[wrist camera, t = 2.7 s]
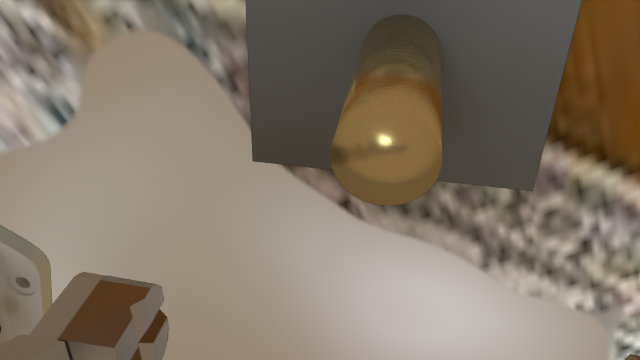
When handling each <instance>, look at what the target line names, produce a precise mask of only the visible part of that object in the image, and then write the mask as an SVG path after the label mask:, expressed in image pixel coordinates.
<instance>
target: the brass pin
mask: <svg viewBox="0 0 640 360" xmlns="http://www.w3.org/2000/svg"><path fill="white" fill-rule="evenodd" d="M330 160H331V166H332V169H333V172H334V174H335V176H336V178H337V180H338V181H339V182H340V184H341V185H342V186H343V187H344V188H345V189H346V190H347V191H348V192H349V193H351V194H352V195H354V196H355V197H357V198H359V199H361V200H363V201H365V202H368V203H372V204H376V205H384V206H393V205H400V204H405V203H408V202H411V201H413V200H415V199H417V198H419V197H421V196H422V195H423V194H425V193H426V192H427V191H428V190H429V189H430V188H431V187H432V186H433V184H434V183H435V181H436V180H437V178H438V176H439V173H440V170H441V166H442V107H441V46H440V42H439V39H438V37H437V35H436V33H435V31H434V30H433V29H432V28H431V27H430V26H429V25H428V24H427V23H426V22H425V21H423V20H421V19H419V18H417V17H414V16H411V15H393V16H389V17H386V18H384V19H382V20H380V21H378V22H377V23H376V24H375V25H374V26H372V27H371V29H370V30H369V31H368V33H367V34H366V36H365V38H364V41H363V44H362V47H361V50H360V54H359V57H358V60H357V63H356V67H355V70H354V73H353V77H352V80H351V83H350V86H349V90H348V93H347V96H346V100H345V103H344V106H343V109H342V113H341V116H340V119H339V123H338V126H337V129H336V132H335V136H334V139H333V142H332V146H331V152H330Z"/></svg>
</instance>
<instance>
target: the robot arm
mask: <svg viewBox="0 0 640 360" xmlns="http://www.w3.org/2000/svg"><path fill="white" fill-rule="evenodd" d="M163 301H164V296H163V292H162V287H161V286H159V285H157V284H152V283H146V282H141V281H135V280H129V279H124V278H118V277H112V276H104V275H98V274H92V273H87V272H82V273H80V274H78V275H76V276H75V277H74V278H73V279H72V280H71V282H70V283H69V284H68V285H67V287H66V288H65V289H64V290H63V292H62V293H61V294H60V296H59V297H58V298H57V299H56V301H55V302H54V303H53V304H52V289H51V270H50V263H49V260H48V258H47V256H46V255H45V254H44V253H43V252H42V251H41V250H40V249H39V248H37V247H36V246H35V245H33V244H32V243H30V242H29V241H27V240H25V239H24V238H22V237H20V236H19V235H17V234H15V233H14V232H12V231H10V230H8V229H7V228H5V227H3V226H1V225H0V360H161V359H162V357H163V355H164V352H165V348H166V345H167V341H168V330H169V326H168V319H167V316H165V314H164V313H163V312H162V311H161V310H160V309H159V308H160V307H161V305H162V303H163ZM625 360H640V356H639V355H631V354H630V355H629V356H628V357H627V358H626V359H625Z"/></svg>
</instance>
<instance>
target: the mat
mask: <svg viewBox="0 0 640 360" xmlns="http://www.w3.org/2000/svg"><path fill="white" fill-rule="evenodd" d="M581 1H582V0H246V22H247V44H248V67H249V90H250V112H251V134H252V157H253V161H255V162H265V163H275V164H284V165H293V166H302V167H312V168H321V169H330V170H333V169H332V166H331V160H330V152H331V146H332V142H333V139H334V136H335V132H336V129H337V126H338V123H339V119H340V116H341V113H342V109H343V106H344V103H345V100H346V96H347V93H348V90H349V86H350V83H351V80H352V77H353V73H354V70H355V67H356V63H357V60H358V57H359V54H360V50H361V47H362V44H363V41H364V38H365V36H366V34H367V33H368V31H369V30H370V29H371V27H372V26H374V25H375V24H376V23H377V22H378V21H380V20H382V19H384V18H386V17H389V16H393V15H411V16H414V17H417V18H419V19H421V20H423V21H425V22H426V23H427V24H428V25H429V26H430V27H431V28H432V29H433V30H434V31H435V33H436V35H437V37H438V39H439V42H440V46H441V107H442V166H441V170H440V173H439V176H438V178H437V180H436V181H443V182H452V183H462V184H471V185H481V186H490V187H499V188H509V189H518V190H527V191H533V187H534V183H535V179H536V175H537V171H538V167H539V164H540V160H541V156H542V152H543V148H544V144H545V140H546V136H547V133H548V129H549V125H550V121H551V117H552V113H553V109H554V105H555V102H556V98H557V94H558V90H559V86H560V82H561V78H562V75H563V71H564V67H565V63H566V59H567V55H568V51H569V47H570V44H571V40H572V36H573V32H574V28H575V24H576V20H577V16H578V13H579V9H580V5H581Z"/></svg>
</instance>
